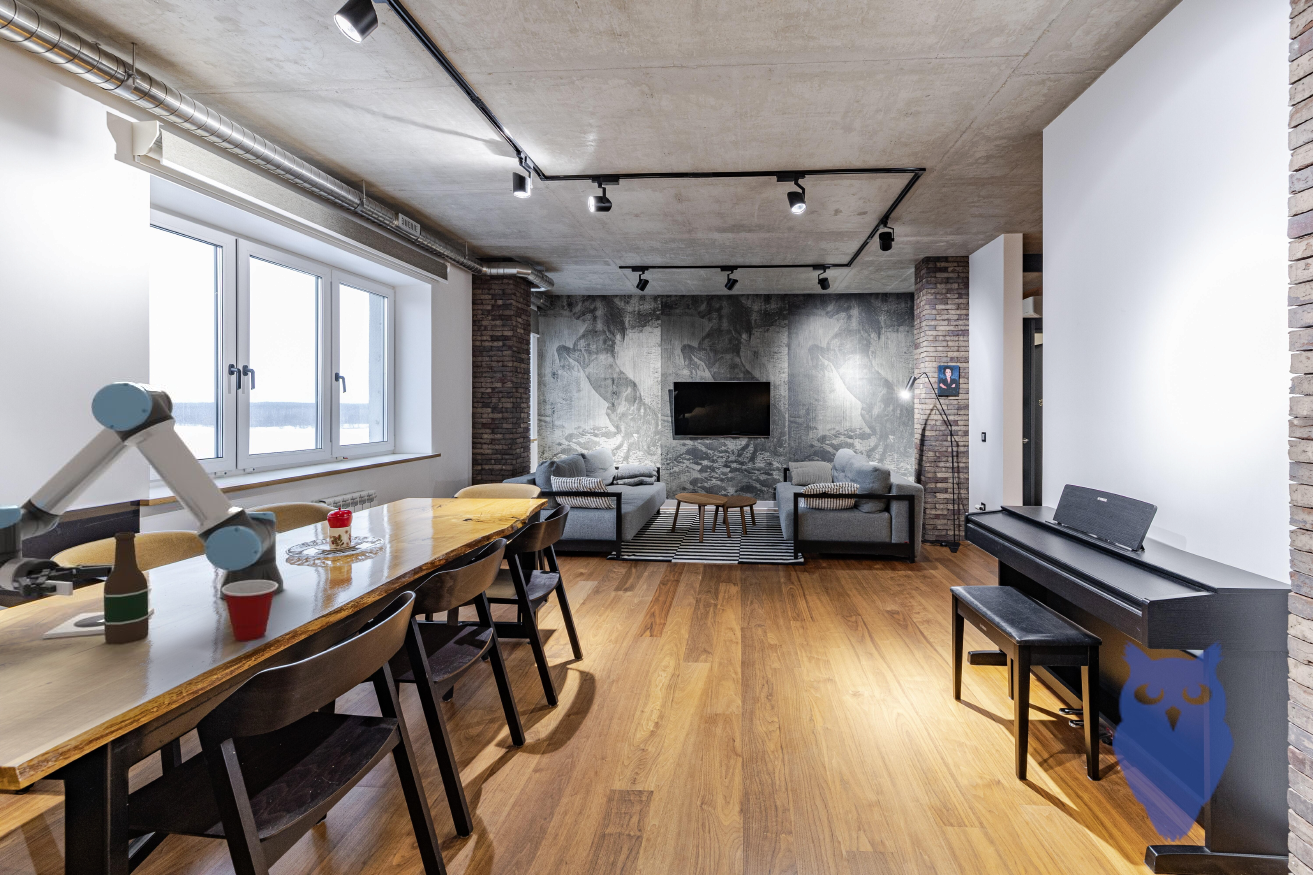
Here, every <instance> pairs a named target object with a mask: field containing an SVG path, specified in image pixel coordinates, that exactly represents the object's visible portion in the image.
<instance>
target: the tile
mask: <svg viewBox="0 0 1313 875" xmlns="http://www.w3.org/2000/svg"><path fill="white" fill-rule="evenodd" d="M153 613H155V608H154V607H153V608H152V607H150V608H149V607H148V617H149V616H150V615H152V614H153ZM101 634H105V631H104V611H101V612H99V611H98V612H84V613H79V614H78V615H75V616H74V617H72V618H70V619H68V620H67V621H65V622H63V623H62V624H60V625H58V626H56V627H54V628H52V629H50V630H49V631H46V632H45V633H43V639H52V638H65V637H75V636H76V637H77V636H87V635H101Z"/></svg>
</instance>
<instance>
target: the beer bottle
mask: <svg viewBox="0 0 1313 875" xmlns="http://www.w3.org/2000/svg"><path fill="white" fill-rule="evenodd" d="M135 538H136V534H135V532H134V531H122V532H118V533H115V534H114V538H113V539H114V540H115V549H114V550H115V551H114V563H113V564H114V568H113V570H112V572H111V573H110V574H109V576H108V577H106V580H105V582H104V584H103V612H104V631H105V633H104V639H105V641H106V643H107V644H108V645H123V644H128V643H135V642H137V641H141V640H143V639H145V638H147V637H148V635H149V616H148V609H149V589H148V588H149V587H148V580H147V578H146V576H145V573H143V571H141V569H140V568H139V566H138V563H137V556H136V545H135Z"/></svg>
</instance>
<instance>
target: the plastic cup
mask: <svg viewBox="0 0 1313 875" xmlns="http://www.w3.org/2000/svg"><path fill="white" fill-rule="evenodd" d="M277 587H278V584H277V583H276V582H273V581H267V580H248V581H239V582H235V583H230V584H228V585H226V586H224V587H223V588H222V592H223V593H224V595H225V598H226V599H225V603H226V606H227V611H228V616H229V620H230V626H231V627H232V632H233V636H234V640H235V641H237V642H250V641H256V640H259V639H261V638H263V637H265V635H266V632H267V628H268V623H269V622H268V621H269V617H270V613H271V609H272V608H271V607H272V604H273V598H274V595H275V594H274V593H275V590H276V589H277Z"/></svg>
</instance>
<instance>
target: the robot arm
mask: <svg viewBox="0 0 1313 875" xmlns="http://www.w3.org/2000/svg"><path fill="white" fill-rule="evenodd" d="M173 407H174V405H173V401H172V397H170V395H169V394H168V393H167V392H166V391H165V390H164V389H162V388H161V387H159V386H156V385H154V384H150V383H138V382H134V381H126V380H125V381H124V380H123V381H118V382H113V383H109V384H106V385H105V386H103V387H101V388H100V389H99V390H98V391H97V392H96V393H95V394H94V396H93V398H92V402H91V414H92V415H93V418H95V421H96V422H98V424H100V425H101V426H103V427H104V428H102V430H100V431H99V432H98V434H96V435H95V436H94V437H93V438H92V439H90V441H89V442H88V443H86V445H85V446H83V447H82V448H81V449H80V450H79V451H78V452H77V453H76V454H75V455H73V457H72V458H71V459H69V461H68V462H66V463H65V464H64V465H63V466H62V467H61V468H60V469H59V470H58V471H57V472H56V473H54V475H52V477H50V478H49V480H47V481H46V482H45V483H44V484H43V485H42V486H41V487H40V488H39V489H38V490H36V492H34V494H32V495H31V496H30V497H29V499H28V500H26V502H24V503H23V504H22V505H21V506H19V505H16V504H3V505H2V504H1V505H0V590H1V591H2V590H3V591H4V590H5V591H15V592H16V591H17V592H19V593H20V594H21V595H22V596H23V598H26V597H27V598H28V597H30V596H32V594H35V598H36V599H39V598H43V597H44V596H45V595H54V596H66V597H67V596H68V597H69V596H73V595H74V589H73V587H74V586H73V585H74V584H73V583H76V582H80V581H82V580H87V579H89V580H90V579H99V578H100V579H101V578H107V577H108V576H109V574H110V573H111V572H112V570H113V568H114V563H99V564H81V563H79V564H76V565H74V566H66V565H64V566H62V565H60V564H59V563H57V561H56V560H51V559H45V558H44V559H42V558H32V557H31V558H30V557H23V554H22V553H23V543H22V541H24V540H27V539H30V538H33V537H37V536H41V535H44V534H46V533H47V532H48V533H49V531H52V530H53V529H54V528H55V527H56V526H57V525H58V523H59V520H60V517H61V516H63V514H64V513H65V512H66V511H67V510H69V508H71V507H72V506H73V505H74V504H75V502H77V501H78V500H79V499H80V498H81V497H82V496H83V495H85V493H86V492H87V491H88V490H89V489H90V488H91V487H93V485H94V484H96V483H97V482H98V480H100V479H101V478H102V477H103V476H104V475H105V474H106V473H107V472H109V470H110V469H111V468H112V467H114V465H116V464H117V462H119V461H120V460H121V459H122V458H123V457H124V456H125V455H126V454H127V453H128V452H129V451H130V450H131V449H133V447H135V448H136V449H137V450H138V451H139V452H140V454H141V455H142V457H144V459H145V461H147V462H148V464H149V465H150V466H151V468H152V469H153V470H154V471H155V473H156V474H157V475H158V476H159V478H160V479H161V480H162V481H163V483H164V484H165V486H167V488H168V489H169V491H170V492H171V493H172V494H173V495H174V497H175V498H176V499H177V501H178V502H179V503H180V504H181V506H182V507H183V508H184V509H185V511H186V512H187V513H188V514H189V516H190V517H191V519H193V521H194V522H195V523H196V524H197V531H196V537H198V539H199V540H200V541H201V542H202V544H203V545H204V553H205V556H206V559H207V560H208V562H209V563H210V564H212V565H213V566H214V567H216V568H217V569H220V570H223V571H225V574H224V576H223V579H222V582H221V585H220V587H219V597H220V598H221V599H223V600H226V598H225V595H224V593H223V592H222V588H223V587H224V586H226V585H228V584H230V583H235V582H239V581H248V580H267V581H273V582H276V583H277V584H278V587H277V589H276V590H275V593H274V595H276V594H279V593H280V592H282V591H283V590H284V580H283V577H282V574H281V572H280V568H279V567H278V564H277V535H276V534H277V530H276V529H277V520H276V513H274V512H273V511H253V512H252V511H251V512H250V511H249V512H247V511H246V510H245V509H244V507H243V508H242V507H236V506H234V505H232V503H231V502H230V501H229V499H228V498H227V497H226V495H225V494H224V493H223V491H222V490H221V488H220V487H219V486H218V485H217V484H216V482H215V481H214V479H212V478H213V477H211V476H210V474H209V473H208V472H207V471H206V469H205V468H204V466H202V464H201V463H200V461H199V460H198V458H196V456H195V455H194V453H193V452H192V451H191V450H190V449H189V447H188V445H186V444H185V442H184V441H183V439H182V438H181V437H180V436H179V434H178V433H177V432H176V430H175V425H176V418H174V416H173V410H174V408H173ZM74 575H75V578H74ZM44 594H45V595H44Z"/></svg>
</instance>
